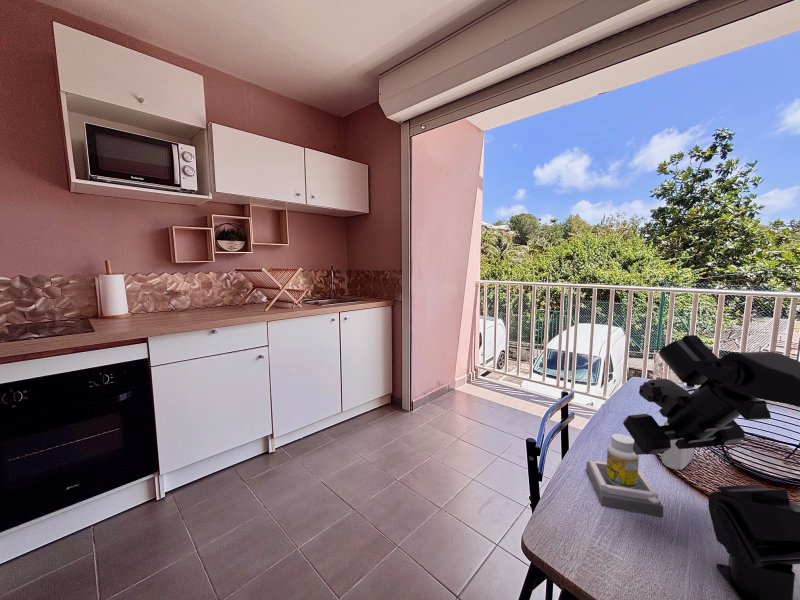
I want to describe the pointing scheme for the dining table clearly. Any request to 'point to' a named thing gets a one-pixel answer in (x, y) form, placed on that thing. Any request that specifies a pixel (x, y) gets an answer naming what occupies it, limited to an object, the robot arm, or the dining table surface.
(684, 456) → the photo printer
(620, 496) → the grey square tray
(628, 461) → the supplement bottle
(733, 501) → the robot arm
